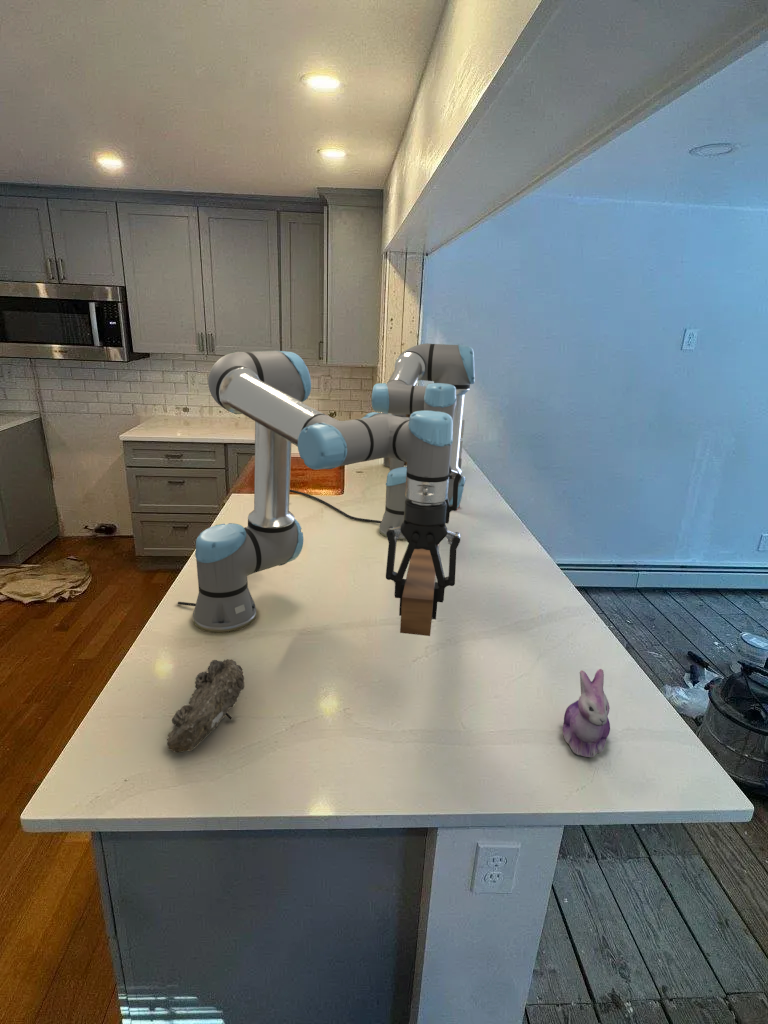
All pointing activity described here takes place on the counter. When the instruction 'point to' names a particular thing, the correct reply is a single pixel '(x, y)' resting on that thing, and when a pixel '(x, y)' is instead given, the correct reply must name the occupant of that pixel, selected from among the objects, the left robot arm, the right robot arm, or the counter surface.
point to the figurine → (588, 717)
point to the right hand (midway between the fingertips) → (430, 532)
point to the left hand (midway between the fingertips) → (417, 613)
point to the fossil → (206, 705)
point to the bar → (418, 594)
